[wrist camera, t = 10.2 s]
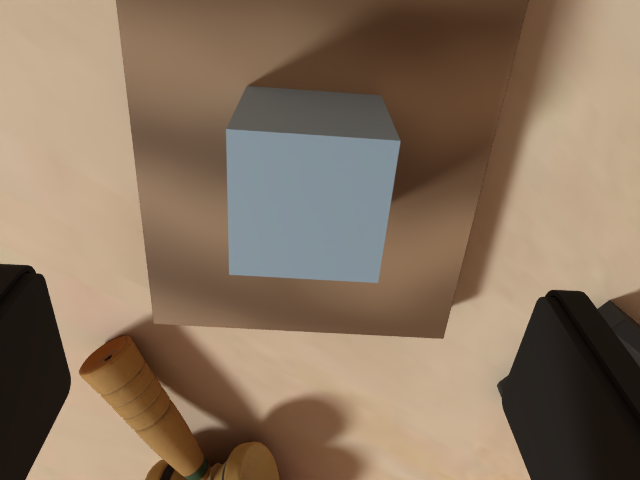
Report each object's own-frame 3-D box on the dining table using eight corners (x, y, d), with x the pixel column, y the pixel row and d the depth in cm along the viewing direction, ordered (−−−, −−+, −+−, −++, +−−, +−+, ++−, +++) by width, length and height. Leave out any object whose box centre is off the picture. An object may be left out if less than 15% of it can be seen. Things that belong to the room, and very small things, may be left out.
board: (121, -134, 17) (99, -142, 15) (531, -98, 18) (554, -102, 16) (164, 298, 26) (154, 323, 24) (435, 313, 27) (443, 338, 25)
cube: (246, 85, 19) (225, 129, 15) (381, 95, 19) (400, 141, 15) (246, 207, 21) (228, 274, 17) (365, 214, 22) (378, 283, 17)
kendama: (61, 353, 30) (223, 547, 36) (11, 423, 24) (215, 643, 30) (176, 291, 30) (321, 498, 35) (154, 347, 24) (333, 585, 29)
